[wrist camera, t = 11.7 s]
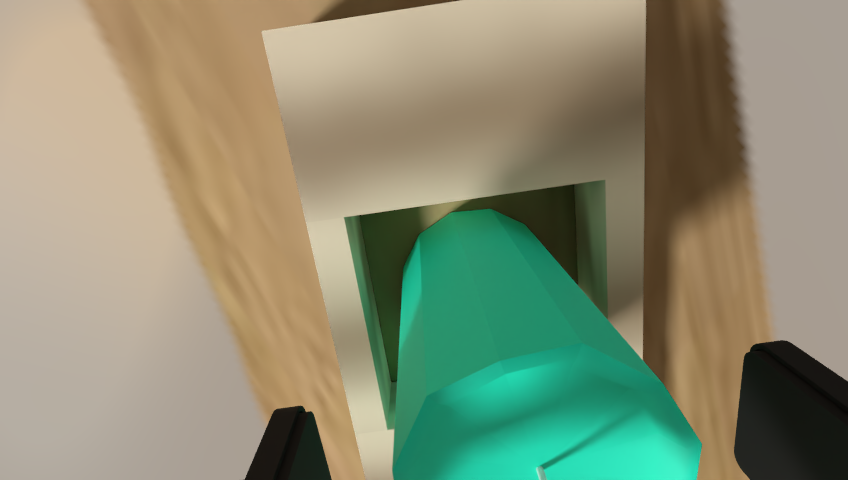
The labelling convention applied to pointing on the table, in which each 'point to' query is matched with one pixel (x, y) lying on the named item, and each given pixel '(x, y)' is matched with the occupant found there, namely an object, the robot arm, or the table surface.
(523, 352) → the candle
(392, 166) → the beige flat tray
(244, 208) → the table surface
